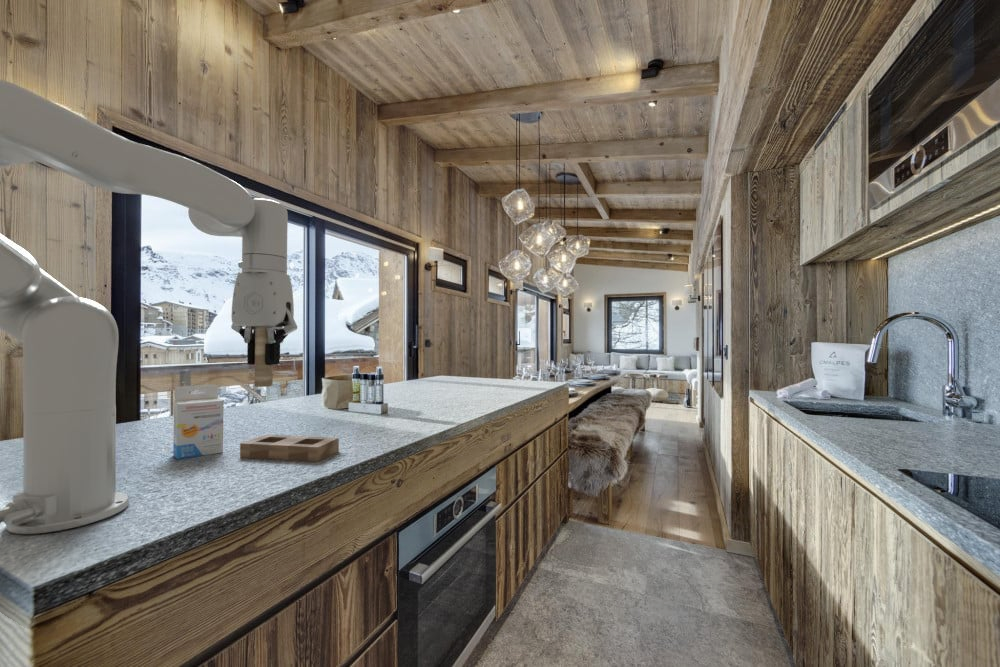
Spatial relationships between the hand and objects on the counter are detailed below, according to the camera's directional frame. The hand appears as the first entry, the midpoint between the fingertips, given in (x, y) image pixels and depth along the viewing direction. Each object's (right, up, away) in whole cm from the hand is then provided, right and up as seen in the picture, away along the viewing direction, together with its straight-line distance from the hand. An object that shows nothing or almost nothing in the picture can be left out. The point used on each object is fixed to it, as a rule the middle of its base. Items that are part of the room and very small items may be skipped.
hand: (263, 363), depth 82 cm
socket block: (-1, -21, +13) cm, 24 cm away
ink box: (-21, -21, +13) cm, 32 cm away
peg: (0, -4, 0) cm, 4 cm away
